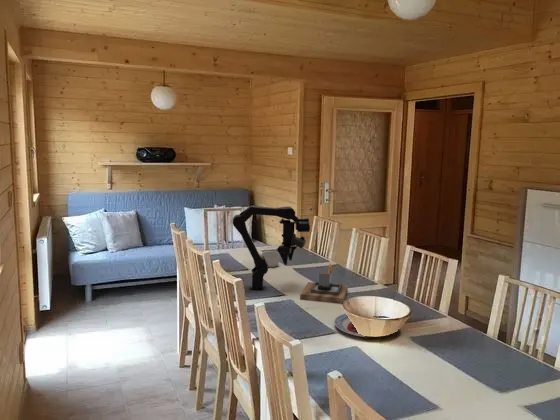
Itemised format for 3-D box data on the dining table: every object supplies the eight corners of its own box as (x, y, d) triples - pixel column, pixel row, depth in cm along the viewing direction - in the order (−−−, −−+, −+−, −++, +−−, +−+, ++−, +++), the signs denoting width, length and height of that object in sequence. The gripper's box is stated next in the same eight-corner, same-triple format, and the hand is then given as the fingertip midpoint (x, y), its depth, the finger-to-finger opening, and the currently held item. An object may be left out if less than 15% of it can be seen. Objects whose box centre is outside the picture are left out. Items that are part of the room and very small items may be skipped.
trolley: (317, 290, 229) (318, 265, 227) (319, 287, 235) (320, 262, 233) (330, 291, 227) (331, 266, 225) (332, 288, 233) (333, 263, 231)
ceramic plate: (400, 345, 176) (401, 337, 176) (331, 338, 181) (331, 331, 181) (398, 320, 201) (398, 313, 201) (336, 314, 206) (337, 307, 206)
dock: (300, 299, 224) (300, 291, 224) (308, 286, 243) (308, 279, 243) (342, 303, 219) (342, 295, 219) (347, 290, 238) (347, 282, 238)
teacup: (280, 264, 286) (280, 251, 285) (278, 269, 276) (278, 255, 274) (257, 263, 288) (257, 250, 286) (254, 267, 277) (255, 254, 276)
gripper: (299, 236, 226) (299, 268, 228) (308, 229, 244) (308, 259, 246) (277, 235, 229) (276, 266, 231) (287, 228, 247) (287, 257, 249)
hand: (288, 262), depth 239 cm, fingers open, 9 cm apart
